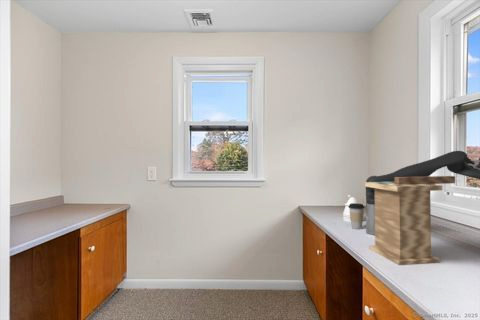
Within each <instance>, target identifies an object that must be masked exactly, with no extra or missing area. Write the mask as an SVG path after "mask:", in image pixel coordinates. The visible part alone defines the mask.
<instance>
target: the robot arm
mask: <svg viewBox="0 0 480 320" xmlns="http://www.w3.org/2000/svg"><path fill="white" fill-rule="evenodd" d="M445 167H446V169H447V170H448V171H449V172H451V173H453V174H456V175H460V176H464V177H468V178H473V179H475V180H476V179H477V180H480V157H479V159H478V160H477V159H476V160H474V159H471V158H470V157H468V154H467V153H466V151H462V150H454V151H450V152H447V153H444V154H442V155H440V156H439V155H438V156H436V157H434V158H431V159H429V160H428V159H427V160H425V161H421V162H418V163H415V164H411V165H407V166H405V167H402V168H400V169H399V168H398V169H397V170H395V171H393V172H391V173H387V174H382V175H372V176H369V177H368V178H367V179H366V181H365V182H395V179H394V177H427V176H431V175H432V174H433V173H435V172H437V171H438V170H440V169H442V168H445ZM365 198H366V199H365V200H366V201H365V202H366V216H365V234H369V235H372V236H373V235H374V236H375V190H374V188H372V187H366V186H365Z"/></svg>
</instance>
